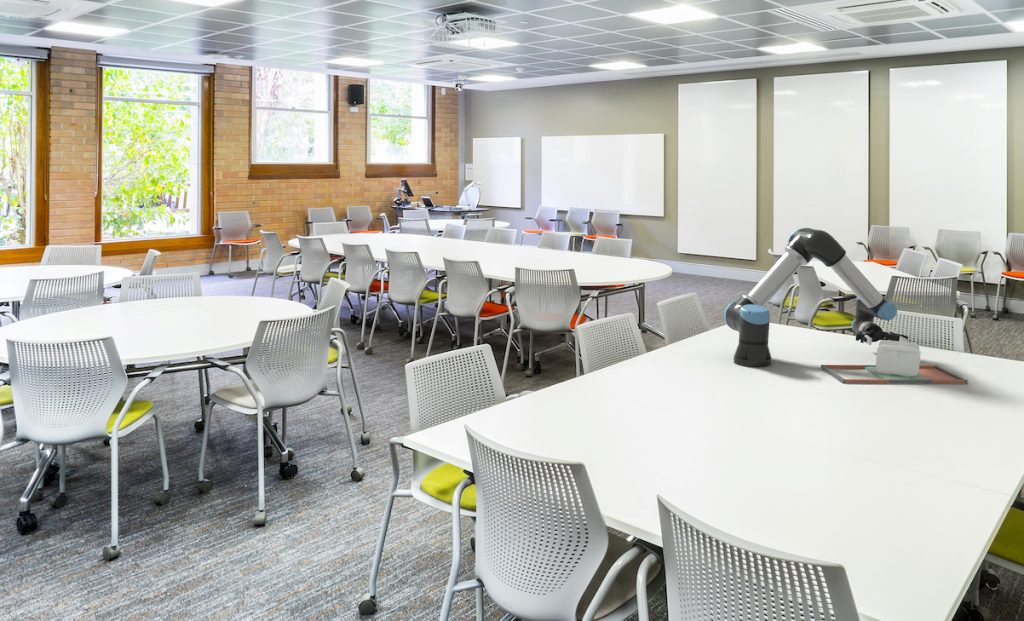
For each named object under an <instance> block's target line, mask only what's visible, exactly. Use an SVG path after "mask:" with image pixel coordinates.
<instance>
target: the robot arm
mask: <svg viewBox="0 0 1024 621" xmlns="http://www.w3.org/2000/svg"><path fill="white" fill-rule="evenodd" d="M787 242H788V243H787V244H786V246H785V247H784V254H783V255H781V257H780V258H779V259H778V260H777V261H776V262H775V263H774V264H773V265H772V267H771V268H770V269H769V270H768V272H766V274H765V275H764V276H763V277H762V278H761V279H760V280H759V282H758V283H756V284H755V286H754V287H753V288H752V289H751V290H750V291H749V293H747V294H742V295H741V296H740V298H738V300H737V301H734V302H730V303H729V304H728V305H727V306H726V307H725V309H724V311H723V319H724V322H725V324H726V326H728V327H729V328H730V329H731V330H733V331H736V332H738V334H739V335H738V344H737V347H736V350H735V353H734V354H733V360H734V361H733V362H736V363H738V364H737V365H739V364H742V365H741V366H743V365H748V366H747V367H751V366H756V367H757V368H760V367H761V368H762V367H769V366H771V365H772V362H773V359H772V355H771V354H772V353H771V352H770V351H771V350H770V348H769V347H770V346H769V337H770V336H769V334H770V322H771V314H770V309H768V307H766V306H767V304H768V303H769V302H770V301H771V300H772V299H773V297H775V296H776V294H777V293H779V291H780V290H781V289H782V288H783V286H784V285H785V284H787V282H788V281H789V280H790V279H791V278H792V276H794V275H795V273H796V272H797V271H798V270H799V269H800V268H801V266H807V265H808V264H809V263H810V262H811V261H812V260H813V259H816V260H818V261H820V262H821V263H822V264H824V266H825V267H826V268H831V269H832V270H833V271H834V273H835V274H836V275H837V276H838V277H839V278H840V279H841V281H843V282H844V284H845V285H846V286H848V288H849V289H850V290H851V291H852V292H853V294H854V295H855V296H856V302H855V303H856V305H855V316H854V319H853V320H852V323H851V329H852V331H853V332H854V333H855V341H860V344H864V343H866V344H867V345H869V346H871V345H872V343H876V342H879V341H883V340H889V341H900V342H909V336H908V335H905V334H899V333H896V332H893V331H889V332H888V331H883V328H882V327H881V326H880V325H878V324H877V323H874V322H875V318H877V319H878V320H879V319H880V320H882V321H891V320H893V319H895V317H897V314H898V308H897V306H896V305H895V304H894V303H892V302H890V301H888V300H887V299H886V298H885V297H884V296H883V295H882V294H881V293H880V292H879V290H878V289H877V288H876V287H875V286H874V285H873V284H872V283H871V281H870V280H869V279H868V278H867V277H866V276H865V275H864V274H863V273H862V272H861V270H860V269H859V268H858V267H857V266H856V265H855V264H854V263H853V261H852V260H851V259H850V258H849V257H848V256H847V250H846V249H844V247H843V246H842V245H841V244H840V243H839V242H838V241H837V240H836V238H834V237H833V236H832V235H831V234H830V233H829V232H827V231H825V230H821V229H816V228H815V229H814V228H811V227H802V228H801V227H800V228H798V229H796V230H794V231H793V232H792V233H791V234H790V235H789V238H788V241H787ZM736 363H735V364H736ZM756 367H755V368H756Z"/></svg>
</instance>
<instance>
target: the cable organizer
mask: <svg viewBox="0 0 1024 621" xmlns="http://www.w3.org/2000/svg"><path fill="white" fill-rule="evenodd" d="M875 357H876V359H875V360H876V361H875V365H876V370H877V371H878V372H880V373H882V374H887V375H891V374H896V375H900V376H904V377H910V376H916V375H918V373H919V365H921V364H920V363H921V362H920V361H921V350H920V346H919V345H918V343H915V342H909V341H908V342H900V341H891V340H880V342H879V343H878V346H877V348H876V356H875Z"/></svg>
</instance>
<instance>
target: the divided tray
mask: <svg viewBox="0 0 1024 621" xmlns="http://www.w3.org/2000/svg"><path fill="white" fill-rule="evenodd" d="M821 368H822V369H821ZM820 369H821V370H823V371H824V370H825V371H824V372H825V373H827V374H828V373H829V374H828V375H830V376H831V375H832V376H831V377H833V378H834V379H836V380H837V381H838V382H840V383H842V384H879V383H912V384H911V385H913V383H914V385H915V383H932V385H938V384H939V385H941V384H942V385H968V384H969V383H968V381H969V380H968V379H966V378H964V377H962V376H959V375H958V374H956V373H953V372H952V371H949V370H948V369H946V368H943V367H941V366H939V365H937V364H936V365H935V364H934V365H933V364H931V365H930V364H927V365H926V364H923V365H922V364H919V373H918V375H916V376H910V377H904V376H900V375H896V374H891V375H887V374H882V373H880V372H878V371H877V370H876V364H821V365H820ZM865 369H866V370H865ZM833 370H865V371H867V372H869V373H870V372H871V374H872V375H874V376H875V375H876V377H877V376H878V377H877V378H878V379H877V378H867V379H866V378H844V377H842V376H841V375H840V374H838V373H836V372H835V371H833ZM880 378H881V379H880ZM933 383H935V384H933ZM937 383H938V384H937Z"/></svg>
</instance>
